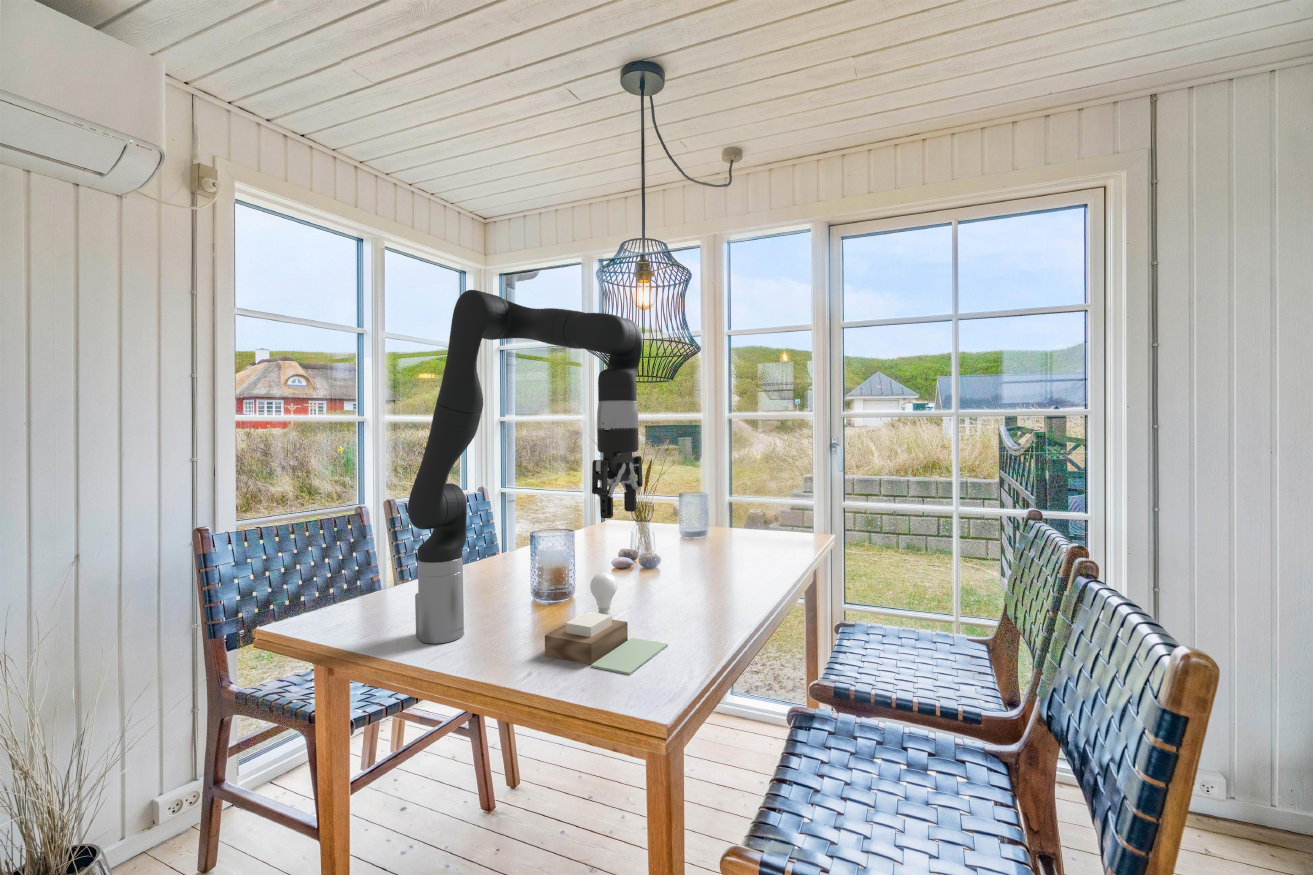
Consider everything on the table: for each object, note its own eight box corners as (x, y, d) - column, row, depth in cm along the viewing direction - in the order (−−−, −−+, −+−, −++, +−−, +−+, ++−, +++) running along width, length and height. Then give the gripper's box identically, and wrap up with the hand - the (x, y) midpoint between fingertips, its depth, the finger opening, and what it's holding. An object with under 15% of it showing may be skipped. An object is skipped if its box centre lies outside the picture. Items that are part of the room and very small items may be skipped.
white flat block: (565, 632, 121) (565, 622, 121) (587, 620, 128) (587, 611, 128) (591, 637, 119) (590, 627, 119) (612, 624, 126) (611, 615, 126)
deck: (545, 655, 120) (544, 635, 120) (584, 632, 133) (583, 614, 132) (591, 664, 115) (591, 643, 115) (627, 640, 128) (627, 621, 128)
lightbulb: (623, 618, 142) (622, 572, 142) (603, 625, 137) (602, 577, 137) (605, 613, 146) (604, 568, 146) (585, 619, 142) (584, 573, 142)
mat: (590, 666, 114) (590, 664, 114) (632, 639, 128) (632, 637, 128) (630, 674, 110) (630, 672, 110) (668, 645, 124) (668, 643, 124)
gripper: (619, 426, 118) (620, 508, 119) (578, 426, 105) (580, 519, 106) (653, 425, 115) (654, 510, 115) (615, 426, 102) (616, 521, 102)
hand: (618, 514), depth 111 cm, fingers open, 8 cm apart
